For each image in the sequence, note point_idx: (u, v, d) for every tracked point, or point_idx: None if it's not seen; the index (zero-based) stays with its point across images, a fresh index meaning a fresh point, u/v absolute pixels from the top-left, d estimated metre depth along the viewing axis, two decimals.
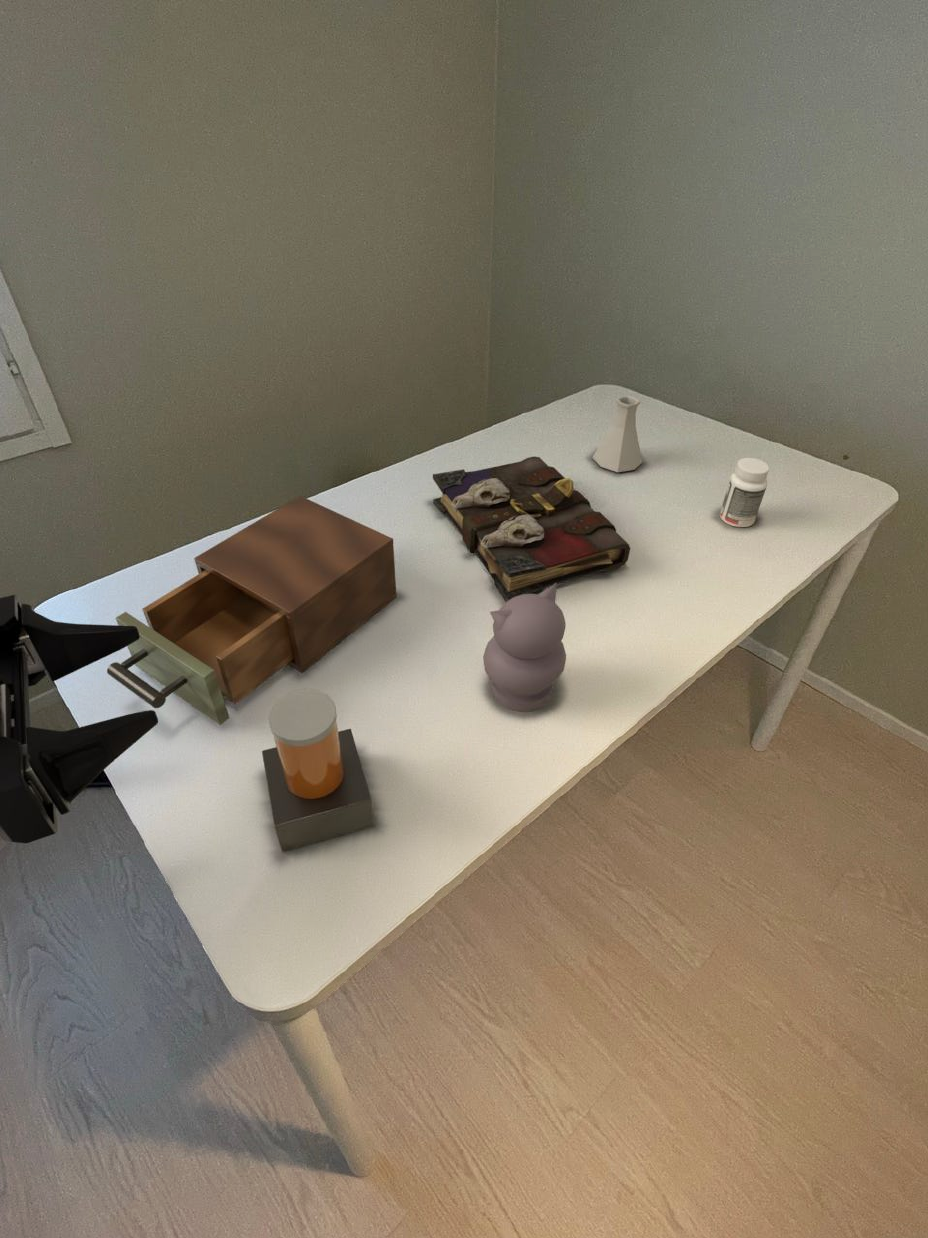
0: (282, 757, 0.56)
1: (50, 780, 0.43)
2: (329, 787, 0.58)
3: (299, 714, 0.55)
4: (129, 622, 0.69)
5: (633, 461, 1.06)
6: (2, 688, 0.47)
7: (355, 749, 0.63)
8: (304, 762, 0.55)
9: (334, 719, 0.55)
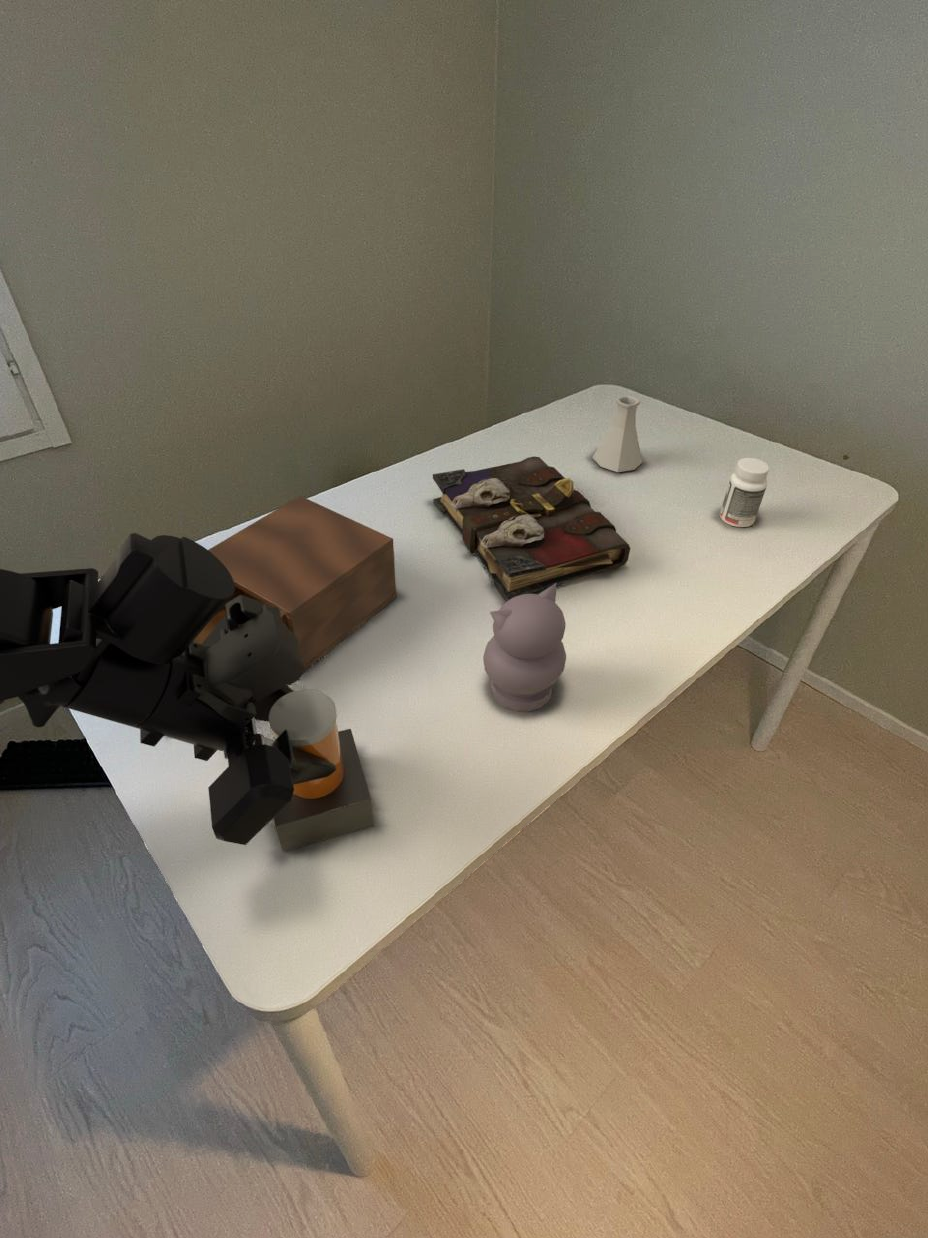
0: None
1: None
2: (329, 787, 0.59)
3: (299, 714, 0.55)
4: None
5: (633, 461, 1.06)
6: None
7: (355, 749, 0.63)
8: None
9: (334, 719, 0.55)
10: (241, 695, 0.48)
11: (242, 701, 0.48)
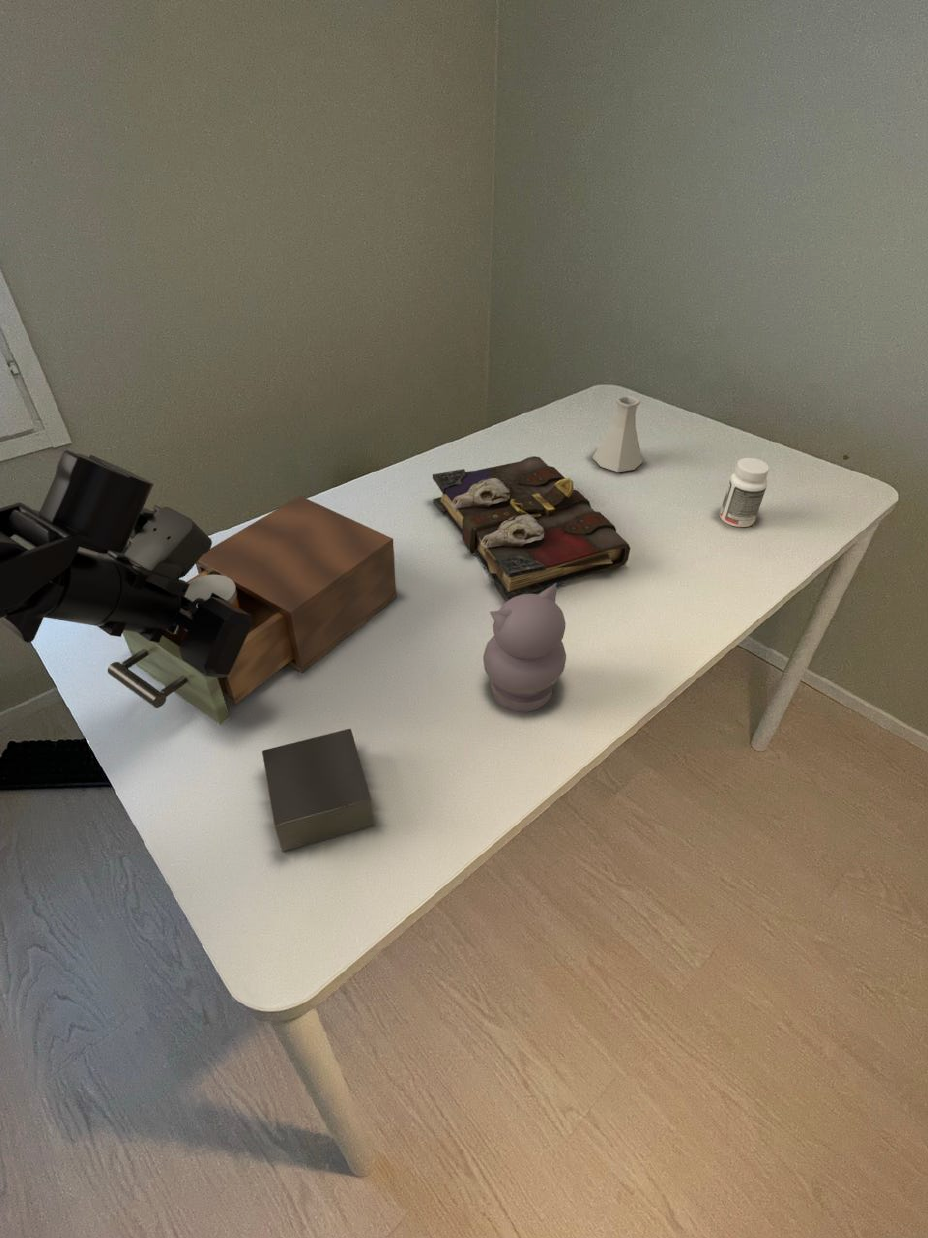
0: None
1: None
2: None
3: (206, 592, 0.69)
4: None
5: (633, 461, 1.06)
6: None
7: (355, 749, 0.63)
8: None
9: (234, 585, 0.70)
10: (177, 569, 0.61)
11: (178, 574, 0.61)
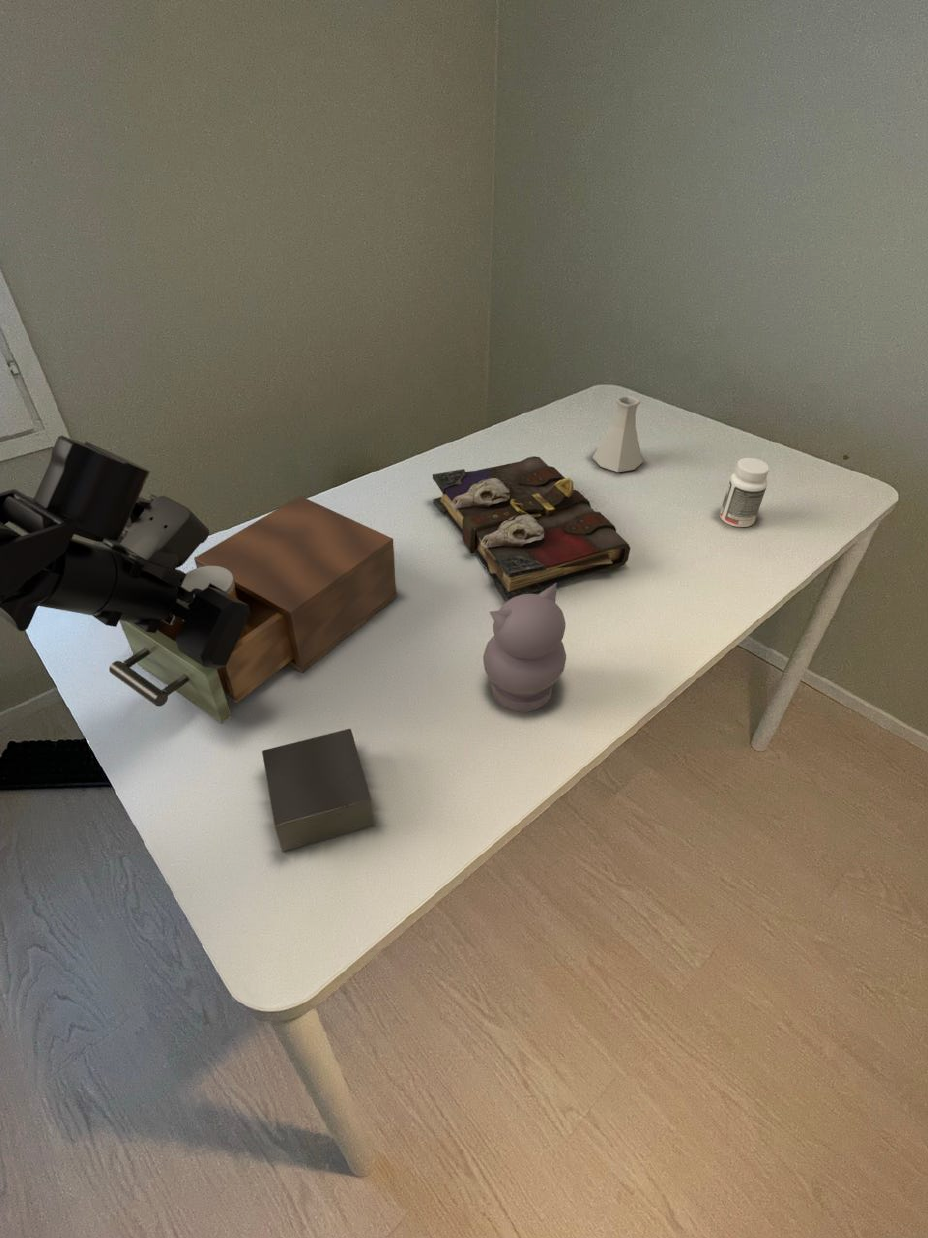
0: None
1: None
2: None
3: (203, 583, 0.68)
4: None
5: (633, 461, 1.06)
6: None
7: (355, 749, 0.63)
8: None
9: (232, 576, 0.69)
10: (173, 558, 0.60)
11: (175, 563, 0.61)
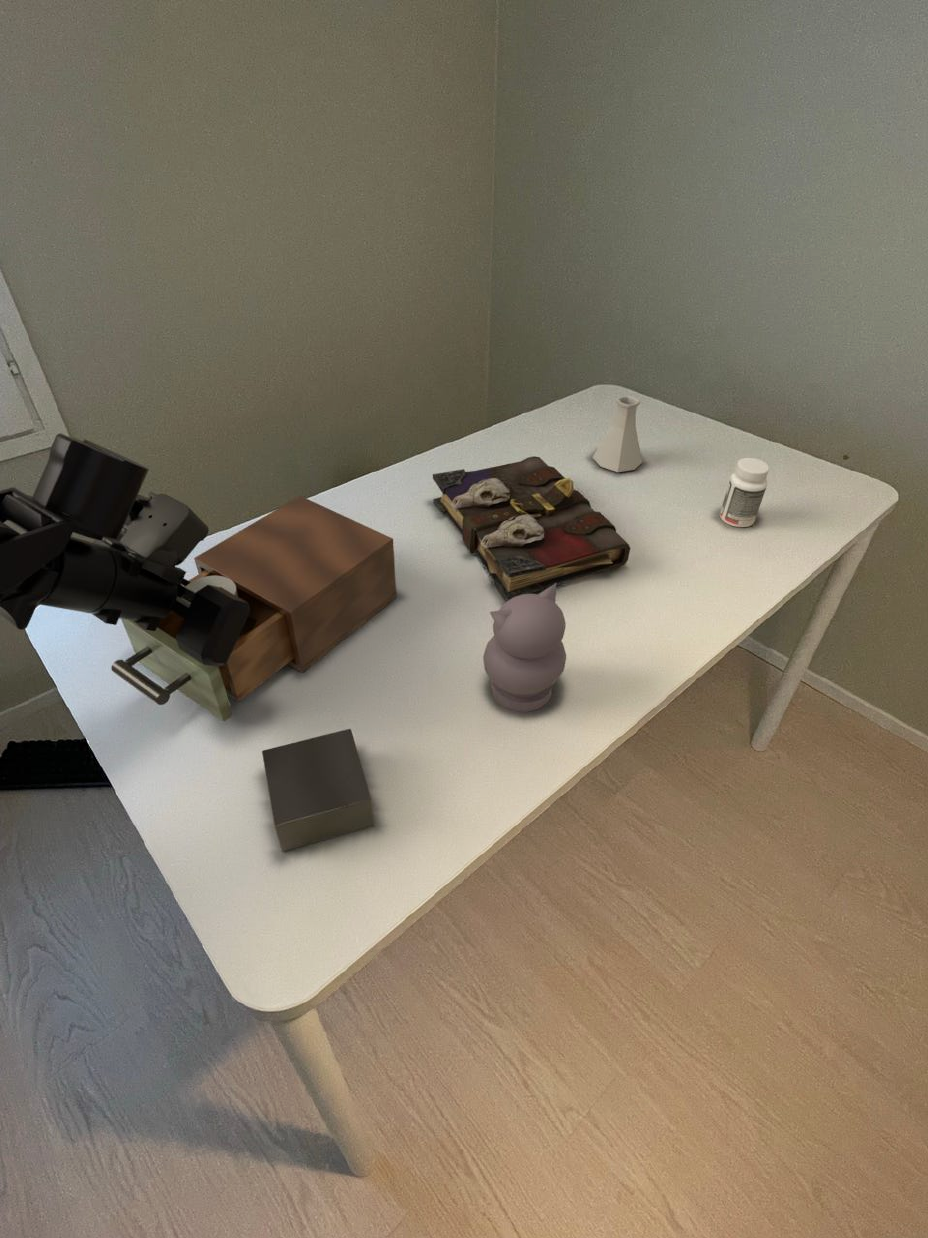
0: None
1: None
2: None
3: None
4: None
5: (633, 461, 1.06)
6: None
7: (355, 749, 0.63)
8: None
9: (235, 586, 0.70)
10: (173, 556, 0.60)
11: (174, 561, 0.60)
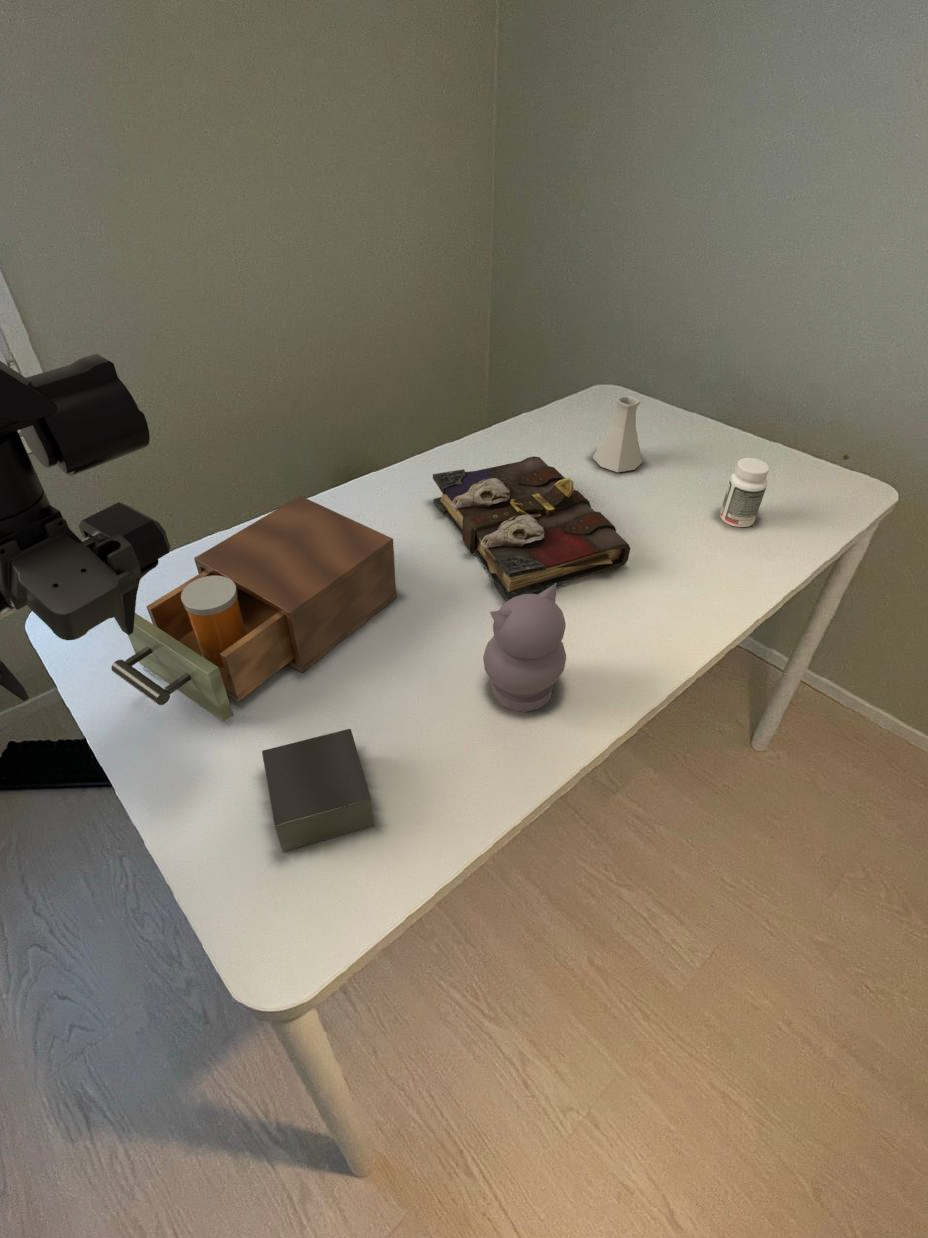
0: (205, 633, 0.69)
1: None
2: None
3: (206, 593, 0.69)
4: None
5: (633, 461, 1.06)
6: None
7: (355, 749, 0.63)
8: (226, 627, 0.69)
9: (235, 586, 0.70)
10: (16, 593, 0.46)
11: (14, 595, 0.47)
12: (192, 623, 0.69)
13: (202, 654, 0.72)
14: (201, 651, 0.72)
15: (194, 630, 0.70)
